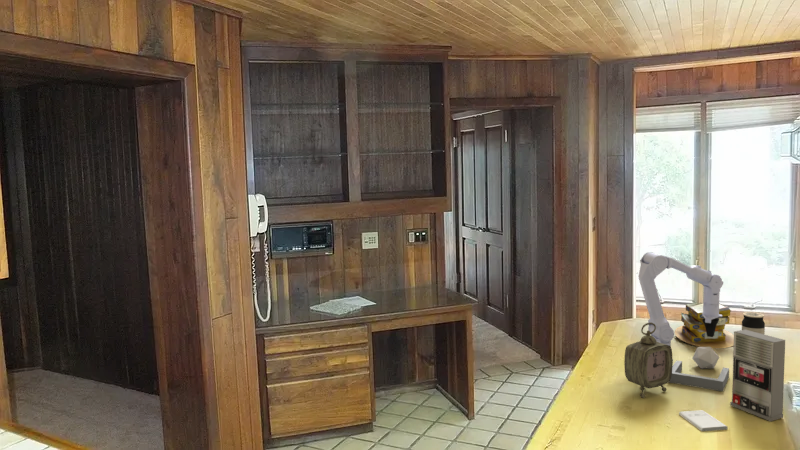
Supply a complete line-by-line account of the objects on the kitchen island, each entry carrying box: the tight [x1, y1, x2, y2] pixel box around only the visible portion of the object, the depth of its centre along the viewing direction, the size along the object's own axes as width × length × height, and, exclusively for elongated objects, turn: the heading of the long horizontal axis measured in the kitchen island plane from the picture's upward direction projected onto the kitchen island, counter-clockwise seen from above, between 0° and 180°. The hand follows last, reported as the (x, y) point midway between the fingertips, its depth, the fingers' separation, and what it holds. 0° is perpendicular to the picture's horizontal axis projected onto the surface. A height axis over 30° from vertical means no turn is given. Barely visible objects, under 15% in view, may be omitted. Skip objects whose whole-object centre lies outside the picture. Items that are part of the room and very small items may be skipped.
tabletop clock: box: [623, 322, 674, 399], centre depth 212 cm, size 14×9×25 cm, turn 117°
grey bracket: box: [668, 360, 730, 392], centre depth 224 cm, size 18×16×4 cm
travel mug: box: [741, 311, 766, 335], centre depth 245 cm, size 8×8×18 cm
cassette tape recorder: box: [729, 329, 786, 422], centre depth 193 cm, size 14×6×25 cm, turn 23°
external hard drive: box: [678, 409, 728, 432], centre depth 189 cm, size 2×8×12 cm
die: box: [691, 346, 720, 370], centre depth 237 cm, size 8×9×10 cm
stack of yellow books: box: [674, 302, 734, 349], centre depth 271 cm, size 25×25×17 cm
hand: (710, 336), depth 245 cm, fingers closed
